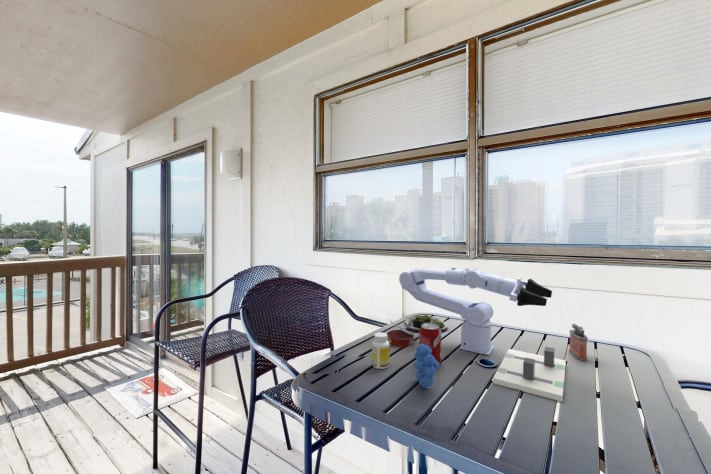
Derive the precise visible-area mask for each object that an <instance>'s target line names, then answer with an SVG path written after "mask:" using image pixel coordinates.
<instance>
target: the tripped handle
mask: <svg viewBox="0 0 711 474" xmlns="http://www.w3.org/2000/svg"><path fill="white" fill-rule="evenodd" d="M534 375H535V359H530V358H526V357H525V359H524V362H523V378H526V379H530V380H533V379H534Z"/></svg>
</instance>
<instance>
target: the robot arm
mask: <svg viewBox="0 0 711 474" xmlns="http://www.w3.org/2000/svg"><path fill="white" fill-rule="evenodd" d="M398 280H399V284H400V286H401V288H402V290H405V291H407V292H408V293H409V294H410V295H411V296H412V297H413V298H414V299H415V300H416V301H419V302H421V303H425V304H426V305H430V306H433V307H436V308H439V309H442V310H445V311H447V312H451V313H454V314H456V315H460V317H461V319H463V320H465V321H463V322H462V325H461V330H460V350H463V351H468V352H471V353H477V354H481V355H486V356H490V355H491V353H492V352H493V350H494V349H495V346H494V345H492V323H491V318H492V317H493V316H494V309H493V307H492V306H491V304H489V303H487V302H484V301H483V302H482V301H481V302H476V301H467V300H466V301H465V300H462V299H459V298H456V297H453V296H449V295H446V294H443V293H440V292H437V291H433V290H429V289H427V286H426V280H433V281H434V280H435V281H436V280H437V281H445V282H446V283H447V284H448V285H453V286H463V287H467V286H468V288H470V289H477V288H478V289H482V290H483V291H486V292H490V293H494V294H497V295H501V296H504V297H509V301H512V302H515V303H516V302H517V303H516V306H518V307H521V306H540V307H546V306H547V302H548V298H552V295H553V290H551V289H549V288H548V287H545V286H543V285H540V284H539V283H537V282H536V281H535V280H534V279H532V278H528V279H527V281H526V280H522V277H518V278H517V279H512V278H507V277H503V276H501V275H500V276H499V275H495V274H492V273H486V272H484V271H482V270H480V269H477V268H474V269H472V270H471V269H470V268H465V269H462V268H461V269H460V268H457V267H455V266H452V267H450V268H448V269H447V270H446V271H443V270H434V269H428V268H427V269H426V268H420V269H418V268H415V269H413V270H409V271H403V272H401V273H400V274H399V277H398Z"/></svg>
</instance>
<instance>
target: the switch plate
mask: <svg viewBox="0 0 711 474" xmlns="http://www.w3.org/2000/svg"><path fill="white" fill-rule="evenodd" d="M525 357H526V358H530V359H535V375H534V379H533V380H530V379H526V378H523V362H524V359H525ZM566 362H567V361H566V360H565V359H560V358H557V357H554V367H550V366H546V365H544V355H540V354H536V353H531V352H525V351H522V350H517V349H511V348H508V349H507V351H506V354H505V355H504V357H503V359H502V361H501V363H500V364H499V366H498V368H497V369H496V372H495V374H494V375H493V376H492V377H493V378H492V383H493V384H494V385H498V386H502V387H506V388H508V389H513V388H514V389H513V390H516V389H519V390H518V391H520V390H521V391H520V392H524V393H528V394H532V395H535V396H539V397H543V398H547V399H550V400H554V401H558V402H561V403H563V401H564V400H563V397H564V388H565V379H566V378H565V377H566V367H567V363H566Z"/></svg>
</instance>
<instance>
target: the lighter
mask: <svg viewBox="0 0 711 474" xmlns="http://www.w3.org/2000/svg"><path fill="white" fill-rule="evenodd" d="M571 328H572V329H569V350H568V353H569V354H570V356H572V357H573V358H574V359H575V360H577V361H579V362H583V361H584V363H585V361H587V362H588V357H587V356H588V355H587V351H588V340H589V338H588V336H587V335H586V334H585V329H584V328H583V326H579V325H578V324H576V323H572V324H571Z"/></svg>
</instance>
